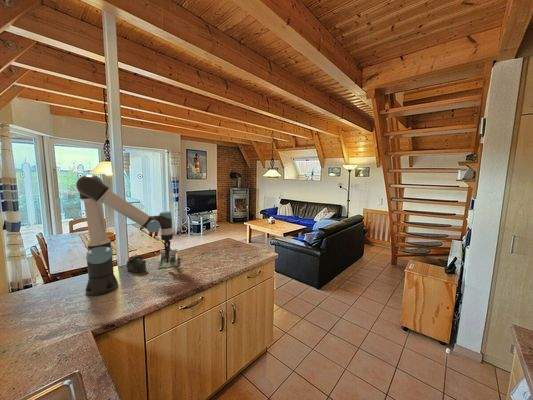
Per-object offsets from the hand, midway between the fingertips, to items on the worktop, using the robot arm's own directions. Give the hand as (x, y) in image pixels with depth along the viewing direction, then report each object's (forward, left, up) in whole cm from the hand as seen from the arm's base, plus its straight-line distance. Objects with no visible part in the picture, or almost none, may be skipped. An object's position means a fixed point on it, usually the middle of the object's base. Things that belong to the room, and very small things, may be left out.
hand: (168, 263), depth 165 cm
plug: (0, +10, -2) cm, 10 cm away
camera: (-20, +2, -3) cm, 20 cm away
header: (0, +9, -3) cm, 9 cm away
